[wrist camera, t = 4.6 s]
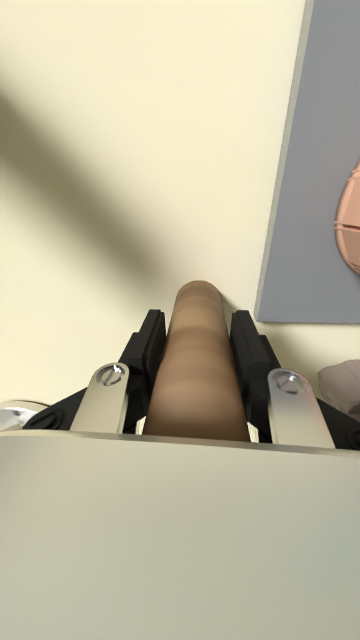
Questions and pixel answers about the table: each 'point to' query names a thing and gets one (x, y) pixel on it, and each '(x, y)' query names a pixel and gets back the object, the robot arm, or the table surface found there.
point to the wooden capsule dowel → (197, 373)
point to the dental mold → (342, 387)
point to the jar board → (318, 179)
